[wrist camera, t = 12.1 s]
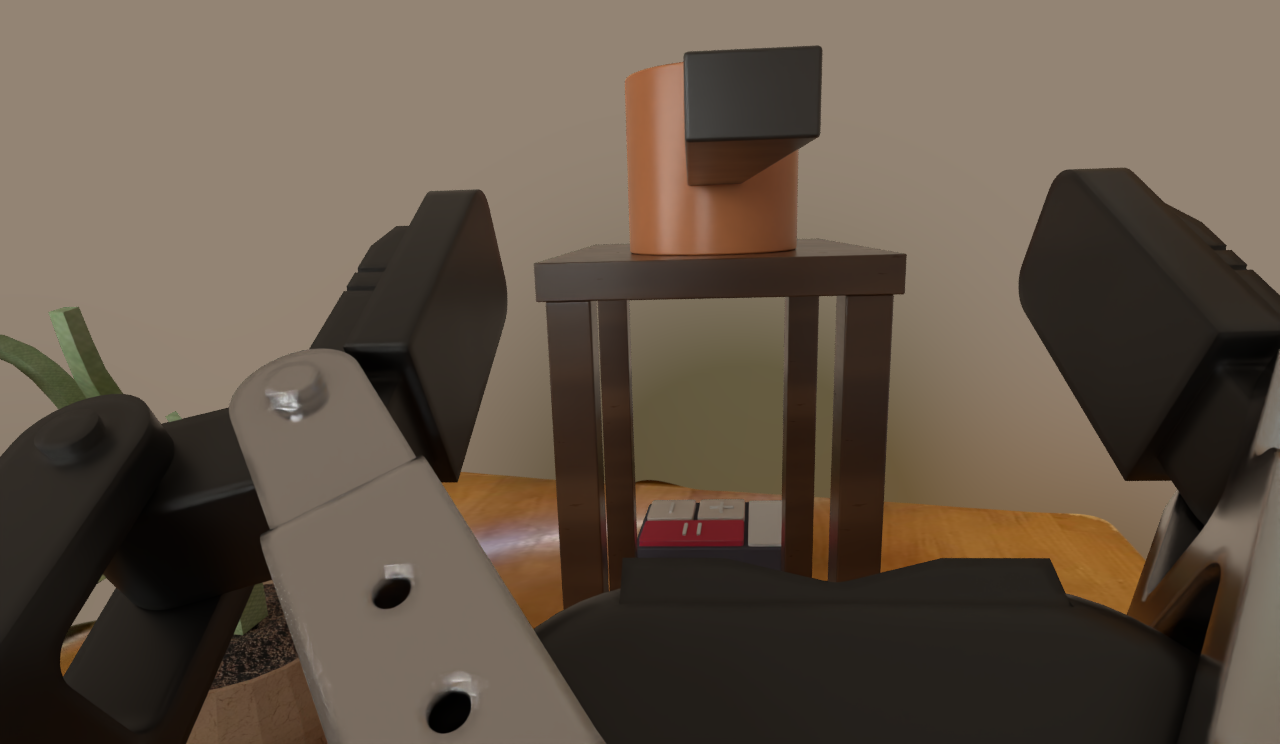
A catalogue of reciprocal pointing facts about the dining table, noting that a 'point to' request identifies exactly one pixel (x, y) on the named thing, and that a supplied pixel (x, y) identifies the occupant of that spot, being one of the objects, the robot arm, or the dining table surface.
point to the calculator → (713, 530)
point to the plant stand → (857, 403)
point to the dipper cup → (720, 150)
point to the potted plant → (262, 644)
